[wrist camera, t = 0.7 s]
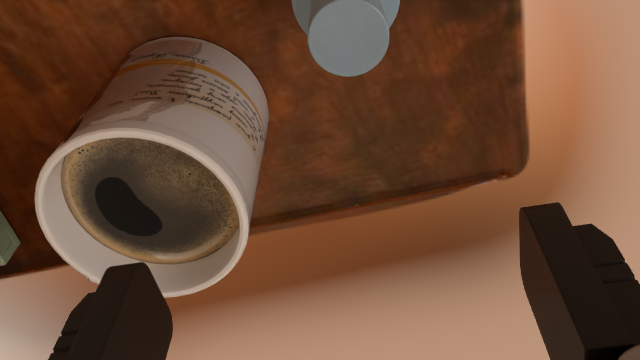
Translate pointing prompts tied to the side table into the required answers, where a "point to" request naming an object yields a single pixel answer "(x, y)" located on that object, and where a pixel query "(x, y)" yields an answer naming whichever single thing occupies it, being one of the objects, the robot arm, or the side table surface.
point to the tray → (7, 240)
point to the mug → (160, 168)
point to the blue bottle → (346, 32)
